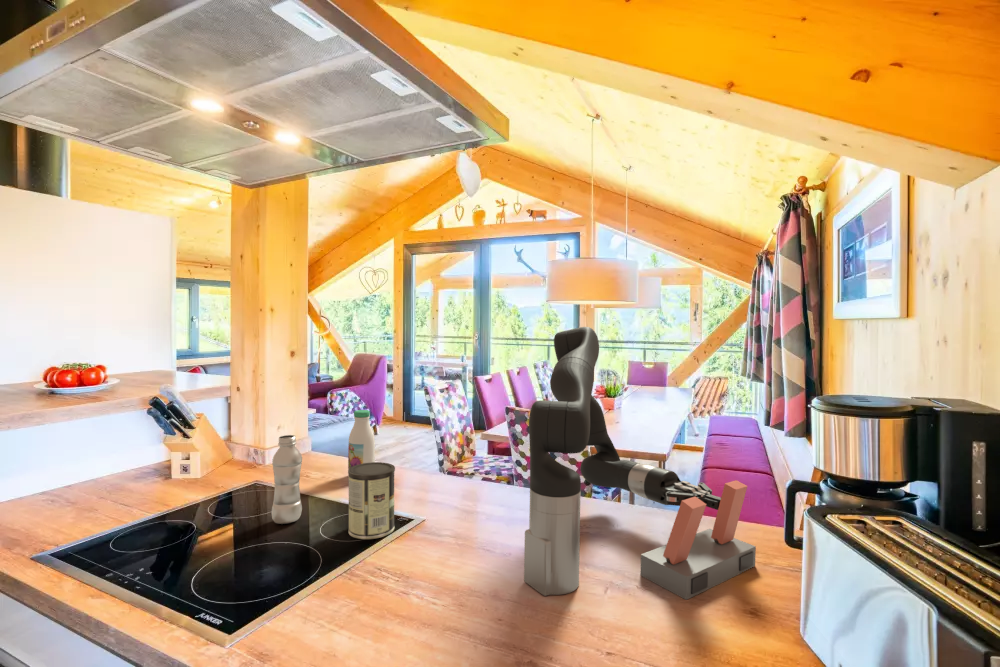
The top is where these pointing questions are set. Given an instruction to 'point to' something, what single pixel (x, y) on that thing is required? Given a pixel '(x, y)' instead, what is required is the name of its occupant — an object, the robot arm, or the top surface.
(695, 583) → the grey switch base
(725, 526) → the block
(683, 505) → the rocker near
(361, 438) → the milk bottle
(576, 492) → the robot arm
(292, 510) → the plastic bottle
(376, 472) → the coffee can
